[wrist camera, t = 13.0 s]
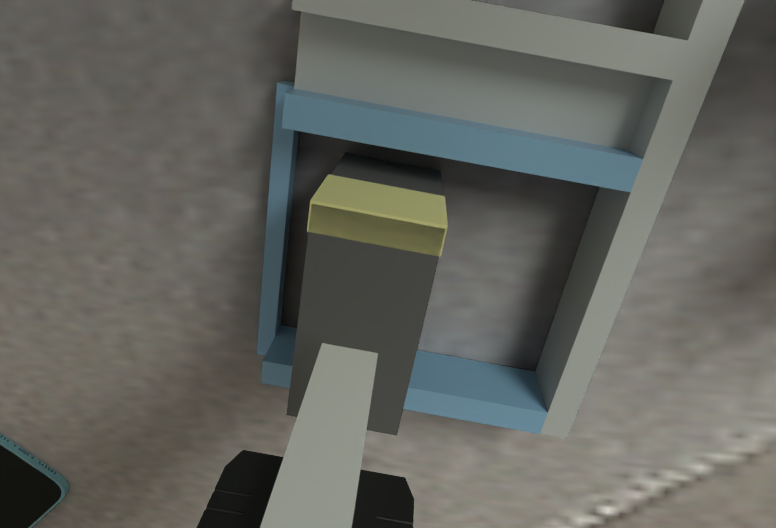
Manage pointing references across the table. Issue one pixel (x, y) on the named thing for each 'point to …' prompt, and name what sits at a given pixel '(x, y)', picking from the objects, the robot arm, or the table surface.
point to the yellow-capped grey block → (370, 274)
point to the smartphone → (26, 487)
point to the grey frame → (501, 156)
